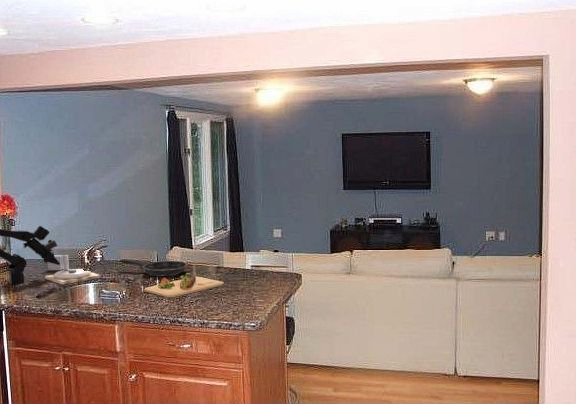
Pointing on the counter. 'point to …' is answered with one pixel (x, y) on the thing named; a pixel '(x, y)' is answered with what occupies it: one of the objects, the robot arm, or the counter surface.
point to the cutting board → (182, 286)
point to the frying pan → (159, 267)
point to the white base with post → (70, 271)
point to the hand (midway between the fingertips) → (59, 264)
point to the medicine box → (55, 266)
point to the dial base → (66, 281)
